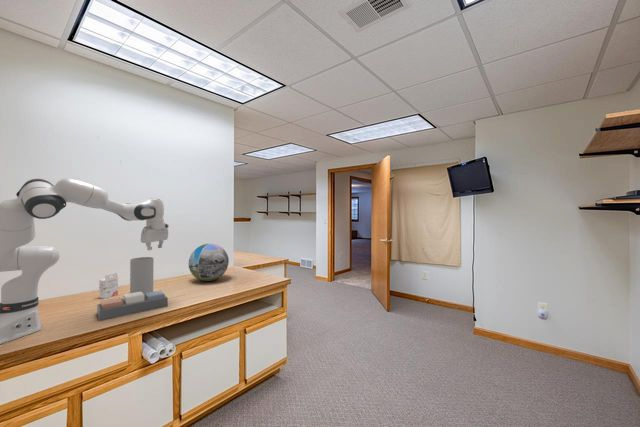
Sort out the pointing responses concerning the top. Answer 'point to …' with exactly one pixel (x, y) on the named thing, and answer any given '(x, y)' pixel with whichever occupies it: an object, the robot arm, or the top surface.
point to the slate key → (154, 295)
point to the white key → (133, 298)
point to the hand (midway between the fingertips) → (154, 249)
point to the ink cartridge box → (108, 286)
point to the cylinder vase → (141, 275)
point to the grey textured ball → (208, 262)
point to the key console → (131, 308)
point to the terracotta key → (111, 303)
